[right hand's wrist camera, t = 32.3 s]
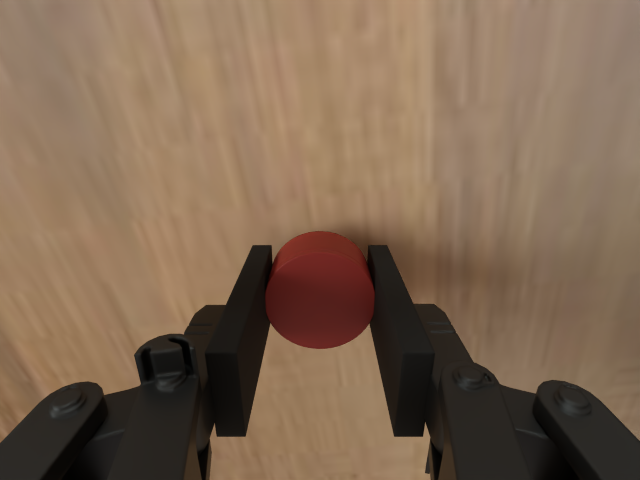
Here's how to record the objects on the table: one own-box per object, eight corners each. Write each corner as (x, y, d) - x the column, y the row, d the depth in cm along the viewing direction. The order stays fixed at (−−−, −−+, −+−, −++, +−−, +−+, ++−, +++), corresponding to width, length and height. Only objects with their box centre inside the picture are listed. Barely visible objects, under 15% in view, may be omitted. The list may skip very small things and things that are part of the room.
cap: (332, 211, 14) (334, 230, 12) (386, 286, 15) (396, 315, 13) (251, 265, 15) (241, 291, 13) (308, 332, 16) (307, 365, 14)
